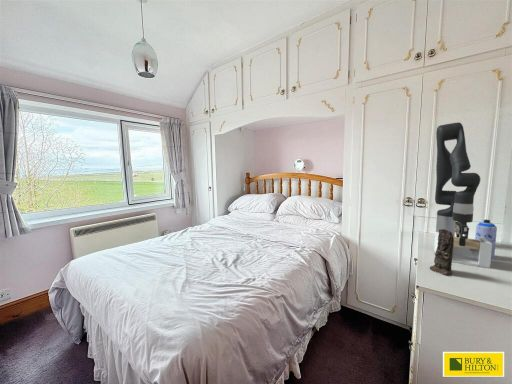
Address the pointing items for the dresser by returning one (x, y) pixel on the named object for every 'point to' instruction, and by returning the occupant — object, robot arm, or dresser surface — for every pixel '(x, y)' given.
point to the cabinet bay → (471, 253)
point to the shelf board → (468, 243)
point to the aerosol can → (487, 233)
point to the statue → (444, 253)
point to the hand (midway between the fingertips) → (460, 243)
